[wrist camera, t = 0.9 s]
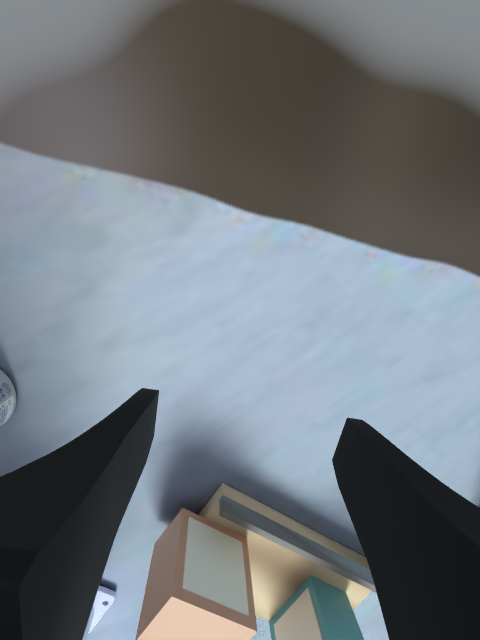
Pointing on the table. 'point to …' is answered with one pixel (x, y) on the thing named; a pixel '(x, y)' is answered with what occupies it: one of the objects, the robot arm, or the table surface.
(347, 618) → the teal box
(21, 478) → the robot arm
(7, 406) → the energy drink
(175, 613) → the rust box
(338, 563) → the board
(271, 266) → the table surface
